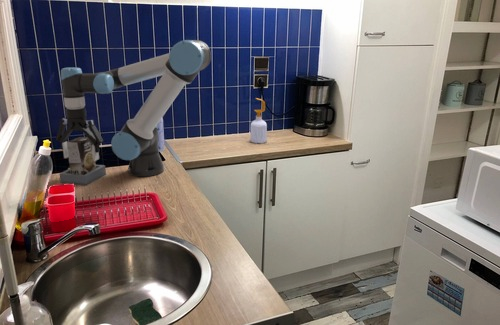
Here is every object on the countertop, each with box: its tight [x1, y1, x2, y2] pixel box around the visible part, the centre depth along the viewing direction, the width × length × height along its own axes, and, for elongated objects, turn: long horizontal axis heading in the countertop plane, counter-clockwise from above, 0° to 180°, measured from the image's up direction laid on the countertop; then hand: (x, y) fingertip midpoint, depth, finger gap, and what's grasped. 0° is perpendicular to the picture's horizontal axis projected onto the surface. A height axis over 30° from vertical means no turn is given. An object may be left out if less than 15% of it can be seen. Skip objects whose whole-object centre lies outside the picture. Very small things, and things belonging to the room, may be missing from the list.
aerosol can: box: [157, 117, 166, 153], centre depth 211 cm, size 8×8×20 cm
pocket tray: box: [59, 164, 107, 186], centre depth 171 cm, size 12×14×4 cm
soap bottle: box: [250, 97, 268, 144], centre depth 228 cm, size 9×9×25 cm
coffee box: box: [67, 136, 97, 175], centre depth 169 cm, size 9×6×16 cm
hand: (81, 158), depth 169 cm, fingers open, 13 cm apart
